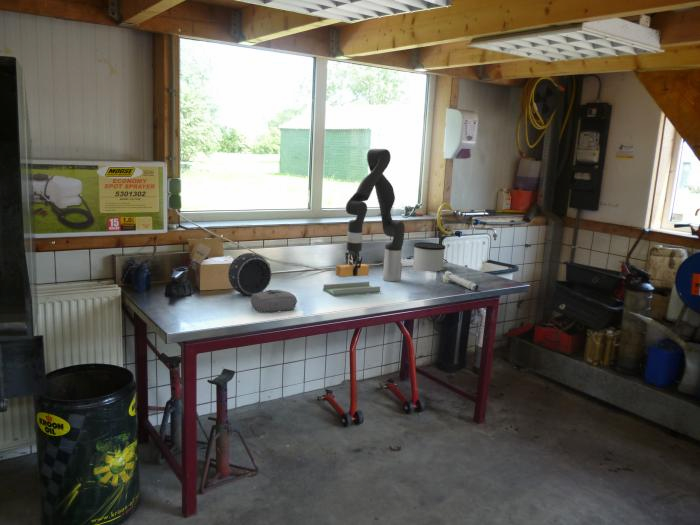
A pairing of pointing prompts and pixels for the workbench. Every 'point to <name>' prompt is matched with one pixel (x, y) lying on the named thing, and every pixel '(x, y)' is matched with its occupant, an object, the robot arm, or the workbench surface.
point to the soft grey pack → (273, 301)
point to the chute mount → (350, 288)
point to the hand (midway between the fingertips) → (352, 274)
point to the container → (428, 256)
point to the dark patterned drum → (249, 274)
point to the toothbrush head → (459, 281)
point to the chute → (351, 270)
